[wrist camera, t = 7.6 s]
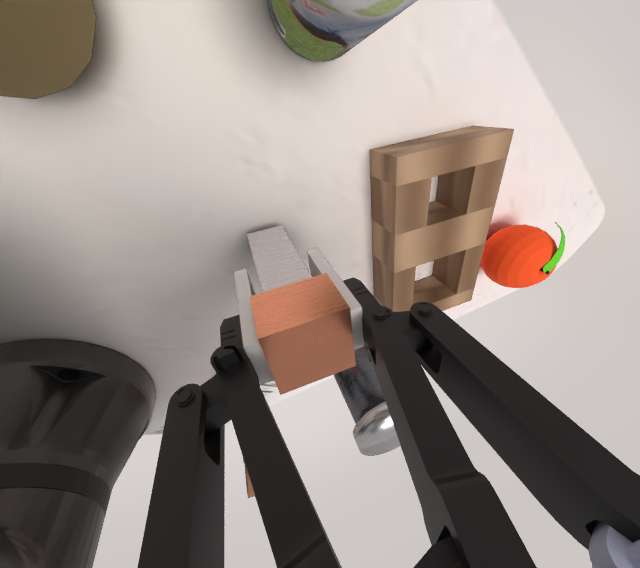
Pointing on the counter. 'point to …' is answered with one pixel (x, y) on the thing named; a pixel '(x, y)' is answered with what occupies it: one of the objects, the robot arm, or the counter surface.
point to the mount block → (434, 214)
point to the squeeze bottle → (44, 45)
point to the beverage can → (331, 23)
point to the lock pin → (297, 315)
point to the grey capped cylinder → (367, 406)
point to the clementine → (520, 256)
